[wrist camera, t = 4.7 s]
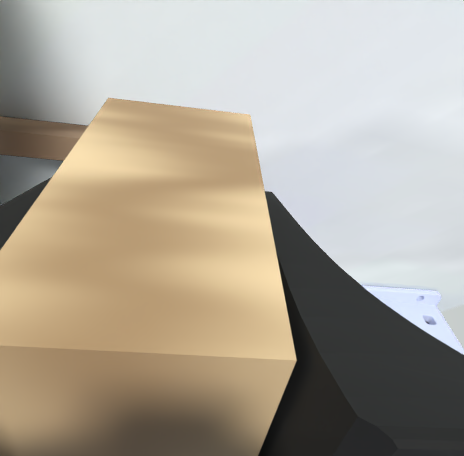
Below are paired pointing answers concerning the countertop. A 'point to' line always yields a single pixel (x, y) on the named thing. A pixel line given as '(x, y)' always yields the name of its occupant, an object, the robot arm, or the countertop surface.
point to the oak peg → (145, 294)
